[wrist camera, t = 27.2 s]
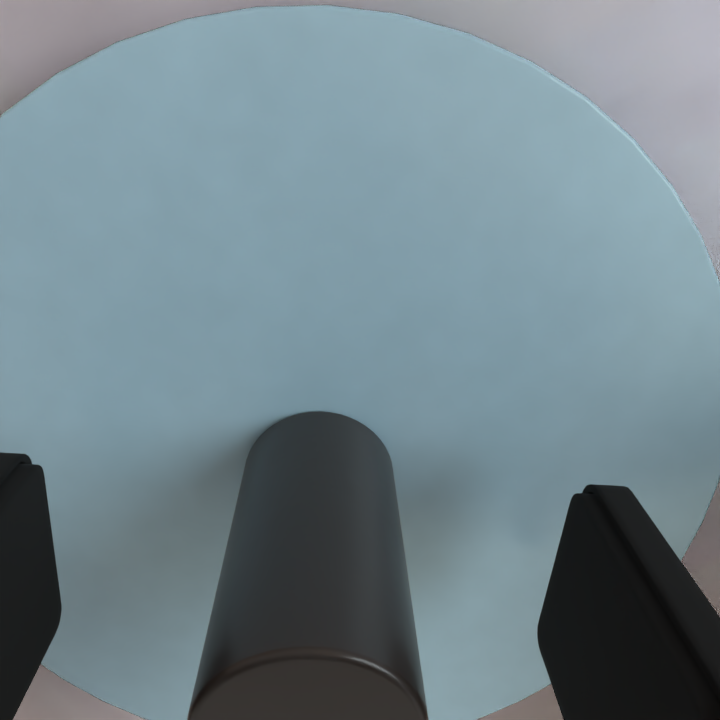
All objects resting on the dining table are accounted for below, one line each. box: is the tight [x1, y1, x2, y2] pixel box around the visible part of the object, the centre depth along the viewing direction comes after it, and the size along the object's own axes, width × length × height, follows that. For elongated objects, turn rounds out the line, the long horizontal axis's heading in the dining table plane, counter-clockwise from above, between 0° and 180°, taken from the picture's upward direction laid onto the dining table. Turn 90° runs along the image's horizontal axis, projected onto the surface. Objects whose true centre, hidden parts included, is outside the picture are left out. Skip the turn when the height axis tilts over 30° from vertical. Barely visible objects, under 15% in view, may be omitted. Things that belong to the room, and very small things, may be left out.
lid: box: [0, 5, 720, 720], centre depth 10 cm, size 15×15×6 cm
